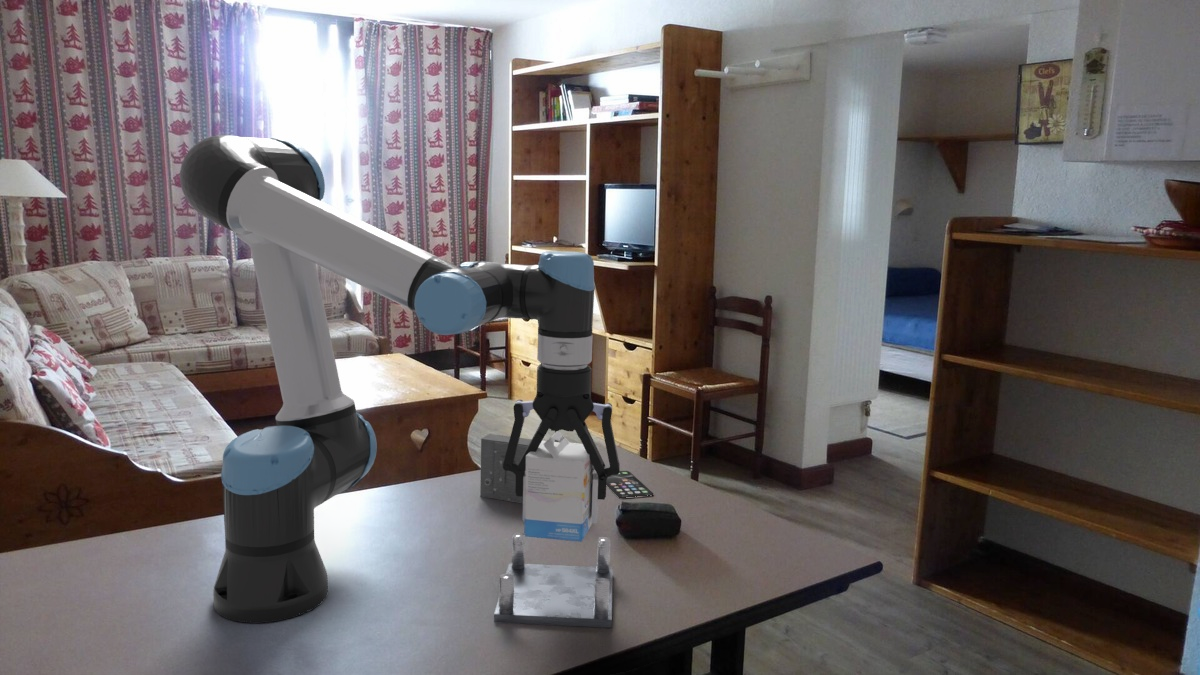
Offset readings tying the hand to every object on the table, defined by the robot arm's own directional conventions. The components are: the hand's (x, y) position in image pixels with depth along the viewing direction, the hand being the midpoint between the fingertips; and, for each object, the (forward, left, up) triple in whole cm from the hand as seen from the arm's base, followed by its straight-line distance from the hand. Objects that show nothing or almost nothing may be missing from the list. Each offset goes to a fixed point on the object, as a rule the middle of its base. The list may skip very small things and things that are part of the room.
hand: (560, 518), depth 123 cm
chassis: (0, 0, -12) cm, 12 cm away
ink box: (0, 0, -2) cm, 2 cm away
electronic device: (-9, +37, -12) cm, 40 cm away
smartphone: (+10, +49, -13) cm, 52 cm away
